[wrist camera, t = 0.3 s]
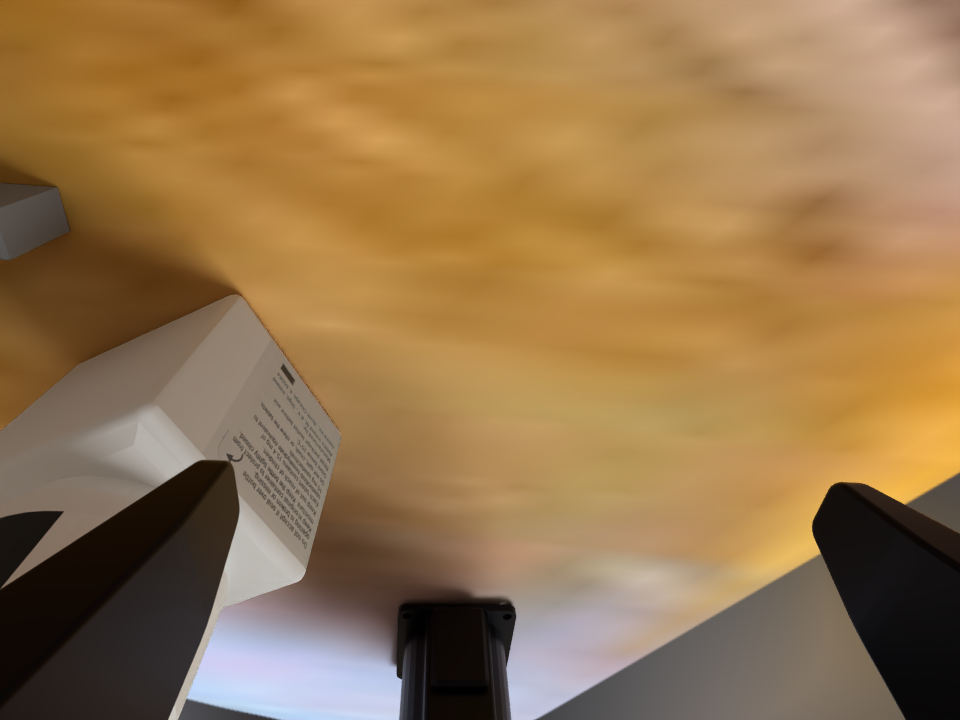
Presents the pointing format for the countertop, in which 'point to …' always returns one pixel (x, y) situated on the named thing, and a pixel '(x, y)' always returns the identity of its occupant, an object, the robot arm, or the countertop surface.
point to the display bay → (29, 218)
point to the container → (174, 449)
